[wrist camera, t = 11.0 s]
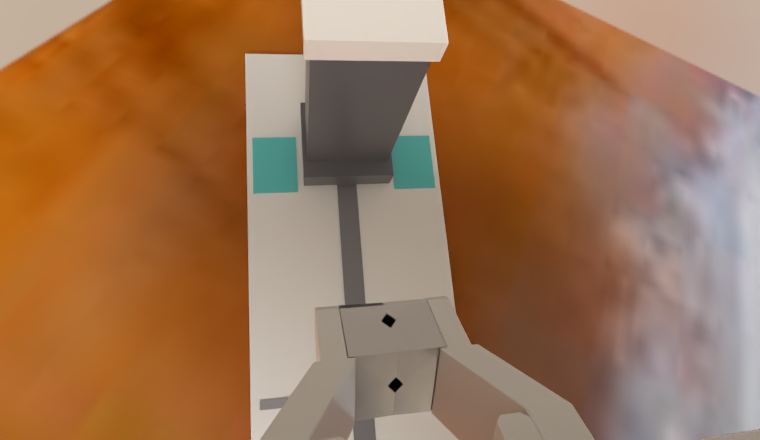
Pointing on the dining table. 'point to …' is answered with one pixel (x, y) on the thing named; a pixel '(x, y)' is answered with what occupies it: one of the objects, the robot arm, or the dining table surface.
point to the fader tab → (362, 82)
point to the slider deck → (331, 242)
